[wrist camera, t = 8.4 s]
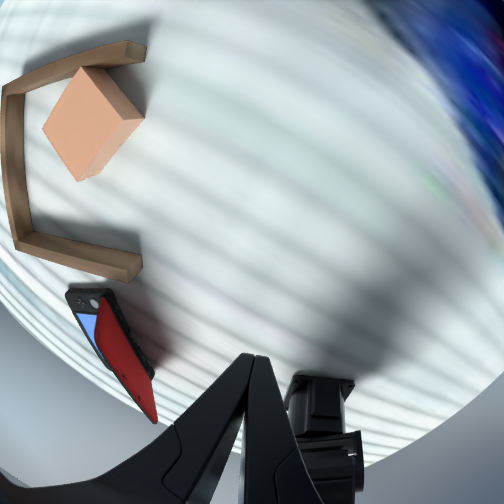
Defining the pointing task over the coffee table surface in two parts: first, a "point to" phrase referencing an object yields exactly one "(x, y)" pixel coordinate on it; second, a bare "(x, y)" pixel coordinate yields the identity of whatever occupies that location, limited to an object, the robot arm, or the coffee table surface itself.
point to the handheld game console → (114, 343)
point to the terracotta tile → (90, 122)
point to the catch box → (13, 170)
